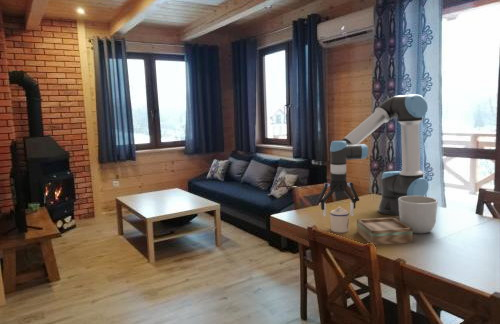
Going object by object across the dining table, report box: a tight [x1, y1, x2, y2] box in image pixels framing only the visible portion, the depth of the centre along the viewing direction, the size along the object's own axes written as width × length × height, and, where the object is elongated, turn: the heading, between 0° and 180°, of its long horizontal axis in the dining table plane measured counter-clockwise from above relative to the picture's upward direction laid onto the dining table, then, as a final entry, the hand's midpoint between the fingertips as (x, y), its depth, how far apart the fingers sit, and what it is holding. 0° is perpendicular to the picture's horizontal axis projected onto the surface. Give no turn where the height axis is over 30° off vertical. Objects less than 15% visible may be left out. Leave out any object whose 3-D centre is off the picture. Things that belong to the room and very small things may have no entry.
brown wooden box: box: [356, 217, 413, 246], centre depth 171 cm, size 18×18×6 cm
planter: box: [398, 195, 439, 234], centre depth 178 cm, size 17×17×15 cm
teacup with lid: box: [329, 206, 350, 234], centre depth 185 cm, size 12×9×12 cm
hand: (338, 215), depth 184 cm, fingers open, 13 cm apart
